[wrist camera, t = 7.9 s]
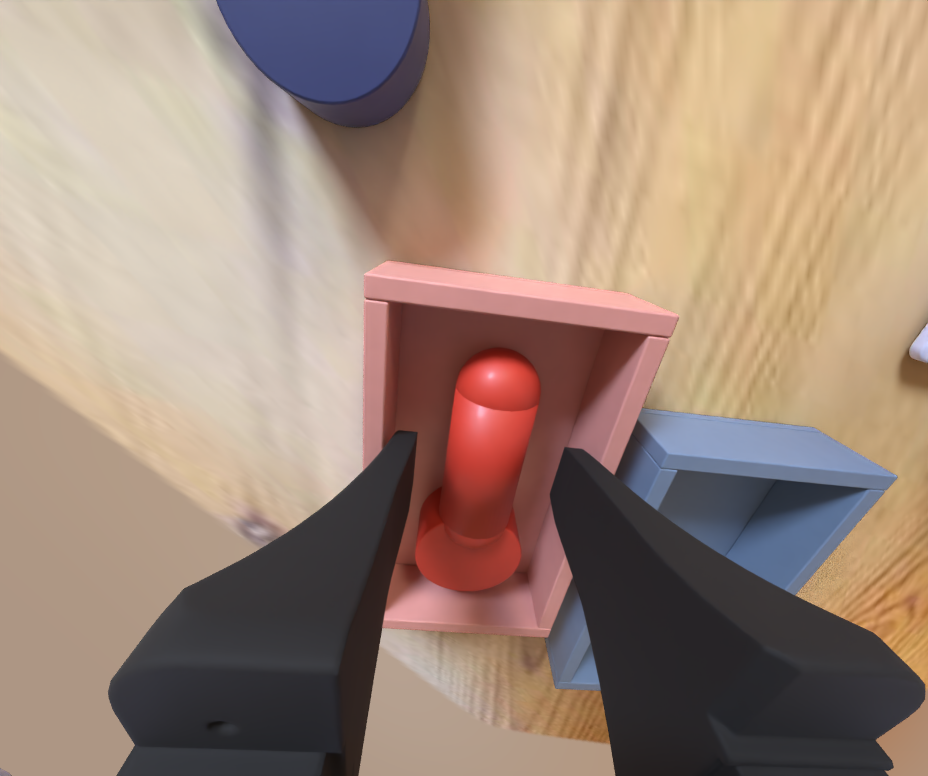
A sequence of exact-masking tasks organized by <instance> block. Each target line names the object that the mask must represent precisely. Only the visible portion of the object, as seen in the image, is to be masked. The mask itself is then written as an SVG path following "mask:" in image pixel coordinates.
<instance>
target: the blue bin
mask: <svg viewBox="0 0 928 776" xmlns="http://www.w3.org/2000/svg"><path fill="white" fill-rule="evenodd" d="M614 476H616V477H617V478H618V479H619V480H620V481H621V482H623V483H624V484H625V485H626V486H627V487H629V488H630V489H631V490H632V491H633V492H634V493H636V494H637V495H638V496H639V497H641V498H642V499H643V500H644V501H646V502H647V503H648V504H649V505H651V506H652V507H653V508H655V509H656V510H657V511H658V512H660V513H661V514H662V515H664V516H665V517H666V518H668V519H669V520H670V521H672V522H673V523H675V524H676V525H677V526H679V527H680V528H682V529H683V530H685V531H686V532H688V533H689V534H691V535H692V536H693V537H695V538H696V539H698V540H699V541H701V542H702V543H704V544H705V545H707V546H709V547H710V548H712V549H713V550H715V551H717V552H718V553H720V554H722V555H723V556H725V557H727V558H728V559H730V560H732V561H733V562H735V563H737V564H738V565H740V566H742V567H743V568H745V569H747V570H749V571H750V572H752V573H754V574H756V575H758V576H759V577H761V578H763V579H765V580H767V581H768V582H770V583H772V584H774V585H776V586H778V587H780V588H782V589H784V590H786V591H787V592H789V593H791V594H793V595H796V594H797V593H798V591H799V590H800V589H801V588H802V587H803V586H804V585H805V583H806V582H807V581H808V580H809V579H810V578H811V576H812V575H813V574H814V573H815V572H816V571H817V570H818V568H819V567H820V566H821V565H822V564H823V563H824V561H825V560H826V559H827V558H828V557H829V556H830V555H831V553H832V552H833V551H834V550H835V549H836V548H837V547H838V545H839V544H840V543H841V542H842V541H843V540H844V538H845V537H846V536H847V535H848V534H849V533H850V532H851V530H852V529H853V528H854V527H855V526H856V525H857V523H858V522H859V521H860V520H861V519H862V518H863V517H864V515H865V514H866V513H867V512H868V511H869V510H870V508H871V507H872V506H873V505H874V504H875V503H876V502H877V500H878V499H879V498H880V497H881V496H882V495H883V494H884V492H885V491H884V490H887V489H888V488H889V487H890V486H891V485H892V483H893V482H894V481H895V480H896V479H897V478H898V477H897V476H896V475H895V474H893V473H891V472H889V471H888V470H886V469H884V468H882V467H881V466H879V465H877V464H876V463H874V462H872V461H870V460H869V459H867V458H865V457H863V456H862V455H860V454H858V453H857V452H855V451H853V450H851V449H850V448H848V447H846V446H844V445H843V444H841V443H839V442H838V441H836V440H834V439H832V438H831V437H829V436H827V435H825V434H824V433H822V432H820V431H819V430H817V429H815V428H813V427H804V426H795V425H786V424H778V423H769V422H760V421H751V420H742V419H733V418H724V417H715V416H706V415H697V414H688V413H680V412H671V411H662V410H653V409H644V408H642V409H641V412H640V414H639V417H638V419H637V421H636V424H635V426H634V429H633V431H632V434H631V436H630V438H629V441H628V443H627V446H626V448H625V451H624V453H623V456H622V458H621V460H620V463H619V465H618V468H617V470H616V473H615V475H614ZM544 638H545V637H544ZM545 642H546V647H547V652H548V657H549V662H550V666H551V671H552V676H553V681H554V685H555V688H556V689H575V690H596V691H601V689H600V684H599V679H598V674H597V669H596V665H595V660H594V655H593V650H592V646H591V641H590V637H589V633H588V628H587V624H586V620H585V616H584V611H583V607H582V604H581V600H580V597H579V594H578V590H577V587H576V584H575V582H574V579H573V577H572V580H571V582H570V585H569V587H568V589H567V592H566V594H565V597H564V599H563V602H562V604H561V607H560V609H559V611H558V614H557V616H556V619H555V621H554V624H553V626H552V628H551V631H550V634H549V636H548V637H547V638H545Z"/></svg>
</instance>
